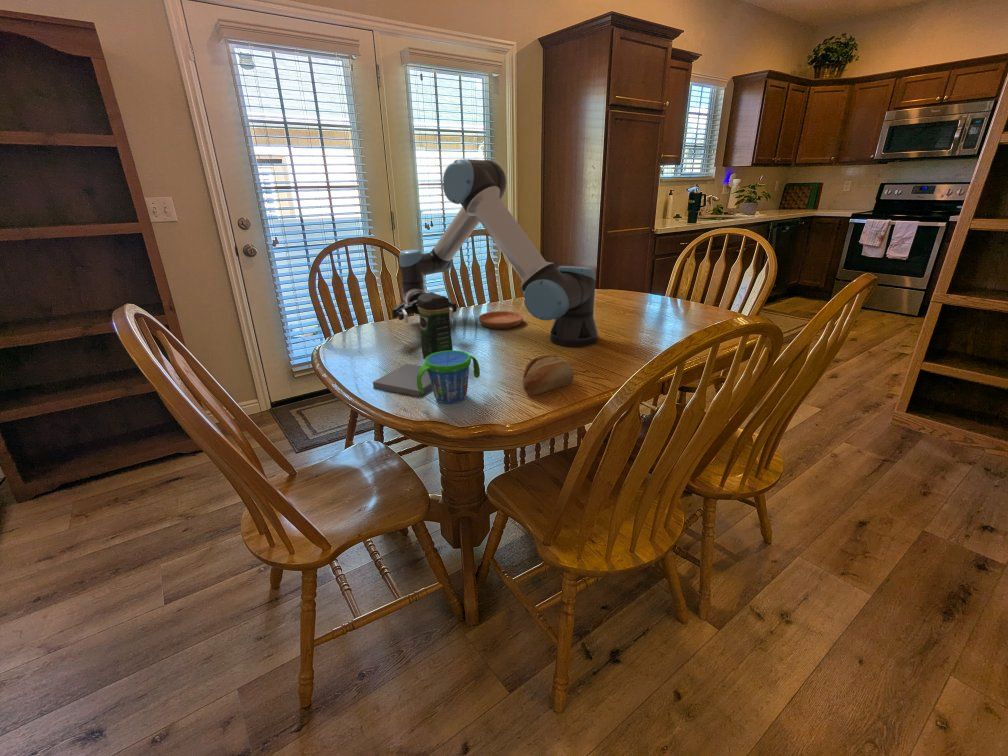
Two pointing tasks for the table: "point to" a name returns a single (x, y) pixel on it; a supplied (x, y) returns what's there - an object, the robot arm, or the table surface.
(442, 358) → the snack cup
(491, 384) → the table surface
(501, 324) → the saucer
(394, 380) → the stand
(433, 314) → the coffee jar
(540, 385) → the bread roll
